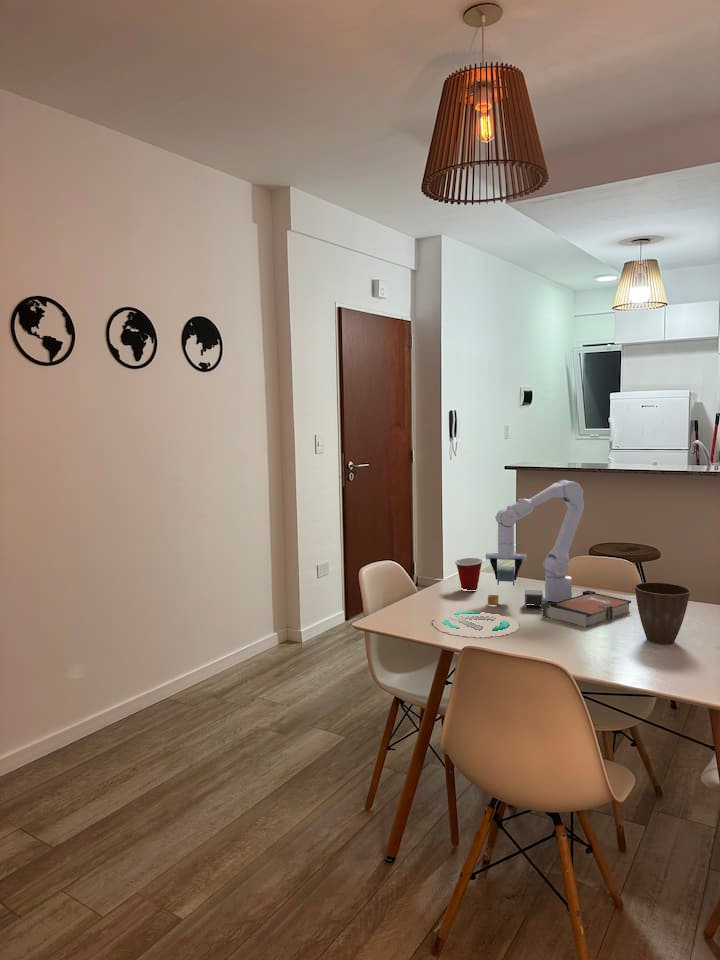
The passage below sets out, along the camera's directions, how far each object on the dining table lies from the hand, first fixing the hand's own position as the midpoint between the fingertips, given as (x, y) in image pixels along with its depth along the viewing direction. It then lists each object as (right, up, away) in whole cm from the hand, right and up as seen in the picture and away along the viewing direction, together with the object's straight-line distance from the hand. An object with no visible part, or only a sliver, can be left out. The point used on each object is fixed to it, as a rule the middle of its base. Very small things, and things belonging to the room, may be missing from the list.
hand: (505, 579), depth 246 cm
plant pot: (+37, -12, -44) cm, 59 cm away
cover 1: (0, -1, 0) cm, 1 cm away
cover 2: (+8, -9, -7) cm, 14 cm away
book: (+24, -10, -17) cm, 31 cm away
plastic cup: (-11, -7, +17) cm, 22 cm away
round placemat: (-15, -12, -25) cm, 32 cm away
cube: (-6, -9, -4) cm, 11 cm away
